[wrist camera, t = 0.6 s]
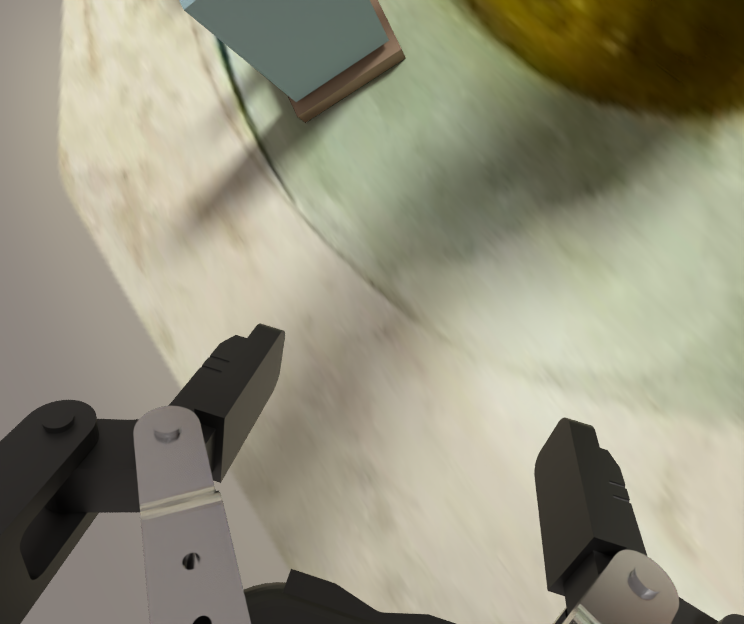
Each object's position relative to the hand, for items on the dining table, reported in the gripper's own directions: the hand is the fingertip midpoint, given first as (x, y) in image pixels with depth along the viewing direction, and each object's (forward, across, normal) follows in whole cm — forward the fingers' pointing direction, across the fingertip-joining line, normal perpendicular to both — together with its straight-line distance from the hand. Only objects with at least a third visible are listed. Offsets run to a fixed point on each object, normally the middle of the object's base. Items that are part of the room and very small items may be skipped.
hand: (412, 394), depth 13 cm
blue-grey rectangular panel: (+28, +12, -5) cm, 31 cm away
